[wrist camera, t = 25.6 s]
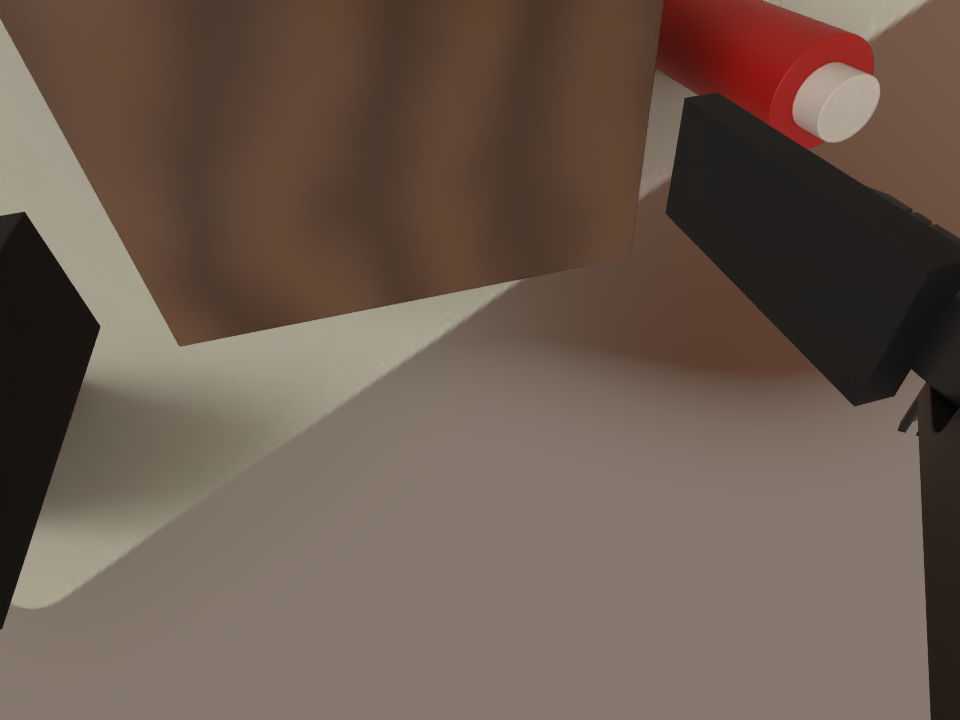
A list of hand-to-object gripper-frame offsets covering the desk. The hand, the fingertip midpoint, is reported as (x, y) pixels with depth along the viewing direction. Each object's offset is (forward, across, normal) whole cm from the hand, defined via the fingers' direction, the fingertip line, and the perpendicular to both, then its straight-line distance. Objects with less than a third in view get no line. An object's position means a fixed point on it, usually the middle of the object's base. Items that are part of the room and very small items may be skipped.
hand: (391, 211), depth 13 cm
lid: (+11, +1, -3) cm, 12 cm away
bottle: (+20, +18, -4) cm, 28 cm away
